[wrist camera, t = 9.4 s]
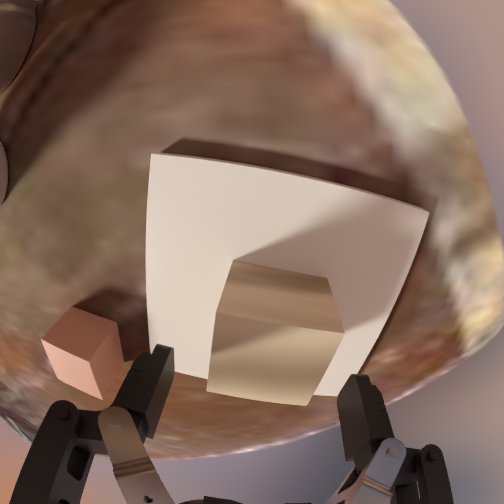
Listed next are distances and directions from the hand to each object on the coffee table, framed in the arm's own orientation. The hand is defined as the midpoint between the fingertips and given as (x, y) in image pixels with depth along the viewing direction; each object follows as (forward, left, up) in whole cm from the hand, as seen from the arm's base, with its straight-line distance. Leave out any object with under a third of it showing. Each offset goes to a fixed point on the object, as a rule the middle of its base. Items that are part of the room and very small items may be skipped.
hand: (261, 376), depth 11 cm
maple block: (0, 0, -6) cm, 6 cm away
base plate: (0, 0, -7) cm, 7 cm away
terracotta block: (+8, -14, -7) cm, 18 cm away
